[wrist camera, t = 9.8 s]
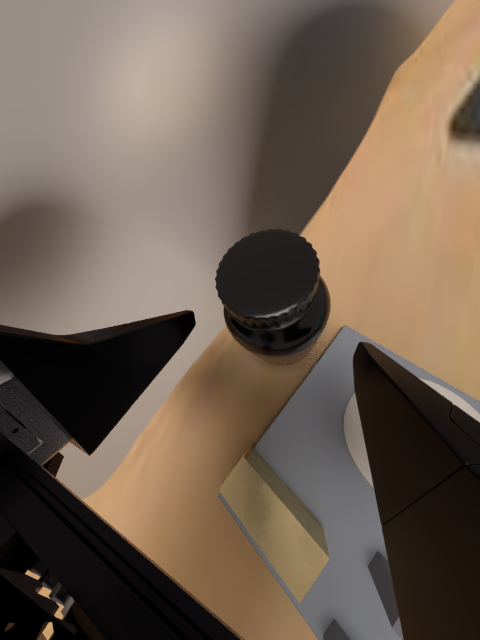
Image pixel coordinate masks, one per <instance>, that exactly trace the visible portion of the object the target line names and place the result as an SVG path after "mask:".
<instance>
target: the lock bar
mask: <svg viewBox="0 0 480 640" xmlns="http://www.w3.org/2000/svg"><path fill="white" fill-rule="evenodd" d="M219 491H220V493H221V494H222V496H223V497H224V498H225V500H226V501H227V503H228V504H229V505H230V507H231V508H232V510H233V511H234V512H235V514H236V515H237V517H238V518H239V519H240V521H241V522H242V524H243V525H244V526H245V528H246V529H247V531H248V532H249V533H250V535H251V536H252V538H253V539H254V540H255V542H256V543H257V545H258V546H259V547H260V549H261V550H262V552H263V553H264V554H265V556H266V557H267V558H268V560H269V561H270V563H271V564H272V565H273V567H274V568H275V570H276V571H277V572H278V574H279V575H280V577H281V578H282V579H283V581H284V582H285V584H286V585H287V586H288V588H289V589H290V591H291V592H292V593H293V595H294V596H295V598H296V599H297V600H298V602H299V603H301V601H302V600H303V598H304V597H305V595H306V594H307V592H308V591H309V589H310V588H311V586H312V585H313V583H314V582H315V580H316V579H317V577H318V576H319V574H320V573H321V571H322V570H323V568H324V567H325V565H326V564H327V562H328V561H329V559H330V557H329V553H328V548H327V543H326V538H325V534H324V529H323V526H322V525H321V523H320V522H319V521H318V520H317V519H316V518H315V517H314V516H313V515H312V513H311V512H310V511H309V510H308V509H307V508H306V507H305V506H304V504H303V503H302V502H301V501H300V500H299V499H298V498H297V497H296V496H295V494H294V493H293V492H292V491H291V490H290V489H289V488H288V487H287V485H286V484H285V483H284V482H283V481H282V480H281V479H280V478H279V477H278V475H277V474H276V473H275V472H274V471H273V470H272V469H271V468H270V466H269V465H268V464H267V463H266V462H265V461H264V460H263V459H262V458H261V456H260V455H259V454H258V453H257V452H256V451H255V450H254V449H253V447H252V446H251V445H250V446H249V447H248V448H247V450H246V451H245V452H244V454H243V455H242V456H241V458H240V459H239V460H238V462H237V463H236V464H235V466H234V467H233V469H232V470H231V471H230V473H229V474H228V476H227V477H226V479H225V480H224V482H223V483H222V485H221V486H220V488H219Z"/></svg>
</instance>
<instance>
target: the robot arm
mask: <svg viewBox="0 0 480 640" xmlns="http://www.w3.org/2000/svg"><path fill="white" fill-rule="evenodd" d="M195 324H196V322H195V316H194V312H193V311H189V310H185V311H181V312H176V313H173V314H168V315H163V316H158V317H154V318H150V319H145V320H140V321H136V322H131V323H128V324H122V325H118V326H113V327H108V328H103V329H98V330H93V331H87V332H82V333H77V334H70V335H52V334H47V333H41V332H36V331H31V330H25V329H20V328H15V327H10V326H4V325H0V640H47V639H46V638H45V636H44V635H43V633H42V632H43V630H44V629H45V627H46V626H47V624H48V623H49V622H52V623H53V629H54V633H53V634H52V636H51V637H50V639H49V640H245V639H243V638H242V637H241V636H240V635H239V634H238V633H236V632H235V631H234V630H233V629H232V628H231V627H229V626H228V625H227V624H226V623H225V622H224V621H222V620H221V619H220V618H219V617H218V616H217V615H215V614H214V613H213V612H212V611H211V610H210V609H208V608H207V607H206V606H205V605H204V604H203V603H201V602H200V601H199V600H198V599H197V598H196V597H194V596H193V595H192V594H191V593H190V592H189V591H187V590H186V589H185V588H184V587H183V586H182V585H180V584H179V583H178V582H177V581H176V580H175V579H173V578H172V577H171V576H170V575H169V574H168V573H166V572H165V571H164V570H163V569H162V568H161V567H159V566H158V565H157V564H156V563H155V562H154V561H152V560H151V559H150V558H149V557H148V556H147V555H145V554H144V553H143V552H142V551H141V550H140V549H138V548H137V547H136V546H135V545H134V544H133V543H131V542H130V541H129V540H128V539H127V538H126V537H124V536H123V535H122V534H121V533H120V532H119V531H117V530H116V529H115V528H114V527H113V526H112V525H110V524H109V523H108V522H107V521H106V520H105V519H103V518H102V517H101V516H100V515H99V514H98V513H96V512H95V511H94V510H93V509H92V508H91V507H89V506H88V505H87V504H86V503H85V502H84V501H82V500H81V499H80V498H79V497H78V496H77V495H75V494H74V493H73V492H72V491H70V490H69V489H68V488H67V487H66V486H65V485H64V484H63V483H61V482H60V481H59V480H58V479H57V478H56V475H57V472H58V469H59V467H60V465H61V462H62V460H63V458H64V456H63V455H62V454H60V453H59V451H60V450H61V449H62V448H63V447H65V446H66V445H67V444H68V443H69V442H70V443H72V444H73V445H75V446H76V447H78V448H79V449H80V450H82V451H83V452H85V453H86V454H88V455H89V456H90V455H91V454H92V453H93V452H94V451H95V450H96V449H97V447H98V446H99V445H100V444H101V443H102V441H103V440H104V439H105V438H106V436H107V435H108V434H109V433H110V431H111V430H112V429H113V428H114V427H115V426H116V424H117V423H118V422H119V421H120V420H121V418H122V417H123V416H124V415H125V414H126V412H127V411H128V410H129V409H130V408H131V406H132V405H133V403H134V402H135V401H136V400H137V399H138V398H139V396H140V395H141V394H142V393H143V392H144V390H145V389H146V388H147V387H148V386H149V384H150V383H151V382H152V380H153V379H154V378H155V377H156V376H157V375H158V373H159V372H160V371H161V370H162V369H163V367H164V366H165V365H166V364H167V363H168V361H169V360H170V359H171V358H172V357H173V355H174V354H175V353H176V352H177V351H178V349H179V348H180V347H181V346H182V344H183V343H184V342H185V340H186V339H187V337H188V336H189V334H190V333H191V331H192V330H193V328H194V327H195ZM353 377H354V390H355V396H356V401H357V406H358V411H359V416H360V421H361V426H362V431H363V436H364V441H365V446H366V451H367V456H368V461H369V467H370V472H371V477H372V482H373V487H374V492H375V497H376V502H377V507H378V512H379V517H380V522H381V525H382V533H383V538H384V543H385V548H386V553H387V558H388V563H389V568H390V573H391V578H392V583H393V588H394V594H395V599H396V604H397V609H398V614H399V619H400V624H401V629H402V634H403V639H404V640H480V422H479V421H477V420H476V419H474V418H473V417H472V416H470V415H469V414H467V413H466V412H465V411H463V410H462V409H461V408H459V407H458V406H456V405H454V404H453V403H452V402H451V401H449V400H448V399H447V398H445V397H444V396H443V395H441V394H440V393H438V392H437V391H436V390H434V389H433V388H432V387H430V386H429V385H427V384H426V383H425V382H423V381H422V380H421V379H419V378H418V377H416V376H415V375H414V374H412V373H411V372H410V371H408V370H407V369H405V368H404V367H403V366H401V365H400V364H399V363H397V362H396V361H394V360H393V359H392V358H390V357H389V356H388V355H386V354H385V353H383V352H382V351H381V350H379V349H378V348H377V347H375V346H374V345H372V344H371V343H367V342H359V343H358V345H357V347H356V350H355V353H354V355H353ZM27 570H29V571H30V572H33V573H35V574H37V575H39V576H41V577H40V578H39V580H36V579H34V578H32V577H30V576H28V575H26V574H25V573H26V571H27ZM42 587H46V588H48V589H50V590H52V592H51V593H50V595H49V597H50V598H51V599H49V598H46V597H44V596H42V595H40V594H38V592H39V591H40V590H41V588H42ZM56 602H57V603H59V604H62V605H64V608H63V610H62V611H61V613H62V614H63V615H64V617H63V619H62V620H61V619H59V618H56V617H55V616H54V614H55V613H56V611H57V610H58V608H59V606H58V605H57V603H56Z"/></svg>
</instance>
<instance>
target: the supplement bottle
mask: <svg viewBox="0 0 480 640" xmlns="http://www.w3.org/2000/svg"><path fill="white" fill-rule="evenodd" d="M319 264H320V261H319V259H318V258H317V252H316V251H315V250H314V249H313V248H312V244H311V243H309V242H307V241H306V239H305V238H304V237H300V236H299V235H298V234H297V233H292V232H290V231H289V230H282V229H275V230H273V229H268V230H265V231H259V232H257V233H251V234H250V235H249V236H247V237H244V238H242V239H241V240H240V241H238V242H236V243H235V244H234V245H233V246H232V247H231V248H229V250H228V252H227V253H226V254H225V255H224V256H223V259H222V260H221V262H220V263H219V268H218V269H217V271H216V272H217V276H216V278H215V280H216V289H217V291H218V297H219V298H220V299H221V301H222V304H223V305H224V318H225V322H226V325H227V328H228V330H229V332H230V333H231V335H232V336H233V338H234V339H235V340H236V341H237V342H238V343H239V344H240V345H241V346H243V347H244V348H245V349H247V350H248V351H250V352H252V353H253V354H255V355H257V356H258V357H260V358H262V359H263V360H265V361H267V362H269V363H272V364H276V365H290V364H294V363H296V362H298V361H300V360H302V359H303V358H305V357H306V356H307V355H308V354H309V352H310V351H311V350H312V348H313V347H314V345H315V343H316V342H317V340H318V338H319V337H320V335H321V333H322V332H323V330H324V328H325V326H326V323H327V321H328V318H329V314H330V306H331V305H330V295H329V291H328V288H327V286H326V284H325V282H324V280H323V279H322V277H321V276H320V269H319Z"/></svg>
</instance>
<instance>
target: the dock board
mask: <svg viewBox="0 0 480 640" xmlns="http://www.w3.org/2000/svg"><path fill="white" fill-rule="evenodd" d="M359 342H367V343H371V344H372V345H374V346H375V347H377V348H378V349H379V350H381V351H382V352H383V353H385V354H386V355H388V356H389V357H390V358H392V359H393V360H394V361H396V362H397V363H399V364H400V365H401V366H403V367H404V368H405V369H407V370H408V371H410V372H411V373H412V374H414V375H415V376H416V377H418V378H419V379H421V380H422V381H423V382H425V383H426V384H427V385H429V386H430V387H432V388H433V389H434V390H436V391H437V392H438V393H440V394H441V395H443V396H444V397H445V398H447V399H448V400H449V401H451V402H452V403H453V404H454V405H456V406H458V407H459V408H461V409H462V410H463V411H465V412H466V413H467V414H469V415H470V416H472V417H473V418H474V419H476V420H477V421H479V422H480V401H478V400H476V399H474V398H473V397H471V396H469V395H467V394H465V393H464V392H462V391H460V390H458V389H457V388H455V387H453V386H451V385H450V384H448V383H446V382H444V381H443V380H441V379H439V378H437V377H436V376H434V375H432V374H430V373H429V372H427V371H425V370H423V369H422V368H420V367H418V366H416V365H415V364H413V363H411V362H409V361H408V360H406V359H404V358H402V357H401V356H399V355H397V354H395V353H393V352H392V351H390V350H388V349H386V348H385V347H383V346H381V345H379V344H378V343H376V342H374V341H372V340H371V339H369V338H367V337H365V336H364V335H362V334H360V333H358V332H357V331H355V330H353V329H351V328H350V327H348V326H346V325H345V326H344V327H343V328H342V329H341V330H340V332H339V333H338V334H337V336H336V337H335V339H334V340H333V341H332V343H331V344H330V345H329V347H328V348H327V349H326V351H325V352H324V353H323V355H322V356H321V357H320V359H319V360H318V361H317V363H316V364H315V366H314V367H313V368H312V370H311V371H310V372H309V374H308V375H307V376H306V378H305V379H304V380H303V382H302V383H301V384H300V386H299V387H298V388H297V390H296V391H295V393H294V394H293V395H292V397H291V398H290V399H289V401H288V402H287V403H286V405H285V406H284V407H283V409H282V410H281V411H280V413H279V414H278V416H277V417H276V418H275V420H274V421H273V422H272V424H271V425H270V426H269V428H268V429H267V430H266V432H265V433H264V434H263V436H262V437H261V438H260V440H259V441H258V443H257V444H256V445H255V447H254V448H253V449H254V450H255V451H256V452H257V453H258V454H259V455H260V456H261V458H262V459H263V460H264V461H265V462H266V463H267V464H268V465H269V466H270V468H271V469H272V470H273V471H274V472H275V473H276V474H277V475H278V477H279V478H280V479H281V480H282V481H283V482H284V483H285V484H286V485H287V487H288V488H289V489H290V490H291V491H292V492H293V493H294V494H295V496H296V497H297V498H298V499H299V500H300V501H301V502H302V503H303V504H304V506H305V507H306V508H307V509H308V510H309V511H310V512H311V513H312V515H313V516H314V517H315V518H316V519H317V520H318V521H319V522H320V523H321V525H322V526H323V529H324V534H325V538H326V543H327V548H328V553H329V557H330V559H329V561H328V562H327V564H326V565H325V567H324V568H323V570H322V571H321V573H320V574H319V576H318V577H317V579H316V580H315V582H314V583H313V585H312V586H311V588H310V589H309V591H308V592H307V594H306V595H305V597H304V598H303V600H302V601H301V603H299V602H298V600H297V599H296V598H295V596H294V595H293V593H292V592H291V591H290V589H289V588H288V586H287V585H286V584H285V582H284V581H283V579H282V578H281V577H280V575H279V574H278V572H277V571H276V570H275V568H274V567H273V565H272V564H271V563H270V561H269V560H268V558H267V557H266V556H265V554H264V553H263V552H262V550H261V549H260V547H259V546H258V545H257V543H256V542H255V540H254V539H253V538H252V536H251V535H250V533H249V532H248V531H247V529H246V528H245V526H244V525H243V524H242V522H241V521H240V519H239V518H238V517H237V515H236V514H235V512H234V511H233V510H232V508H231V507H230V505H229V504H228V503H227V501H226V500H225V498H224V497H223V496H222V494H221V493H220V495H219V496H218V497H219V498H220V500H221V501H222V503H223V504H224V506H225V507H226V508H227V510H228V511H229V513H230V514H231V516H232V517H233V518H234V520H235V521H236V523H237V524H238V526H239V527H240V528H241V530H242V531H243V533H244V534H245V536H246V537H247V538H248V540H249V541H250V543H251V544H252V545H253V547H254V548H255V550H256V551H257V553H258V554H259V555H260V557H261V558H262V560H263V561H264V563H265V564H266V565H267V567H268V568H269V570H270V571H271V573H272V574H273V575H274V577H275V578H276V580H277V581H278V583H279V584H280V585H281V587H282V588H283V590H284V591H285V592H286V594H287V595H288V597H289V598H290V600H291V601H292V602H293V604H294V605H295V607H296V608H297V610H298V611H299V612H300V614H301V615H302V617H303V618H304V620H305V621H306V622H307V624H308V625H309V627H310V628H311V630H312V631H313V632H314V634H315V635H316V637H317V638H318V639H319V640H404V639H403V634H402V629H401V624H400V619H399V614H398V609H397V604H396V599H395V594H394V588H393V583H392V578H391V573H390V568H389V563H388V558H387V553H386V548H385V543H384V538H383V533H382V525H381V522H380V517H379V512H378V507H377V502H376V497H375V492H374V487H373V482H372V477H371V472H370V467H369V461H368V456H367V451H366V446H365V441H364V436H363V431H362V426H361V421H360V416H359V411H358V406H357V401H356V396H355V390H354V377H353V355H354V353H355V350H356V347H357V345H358V343H359Z"/></svg>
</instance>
